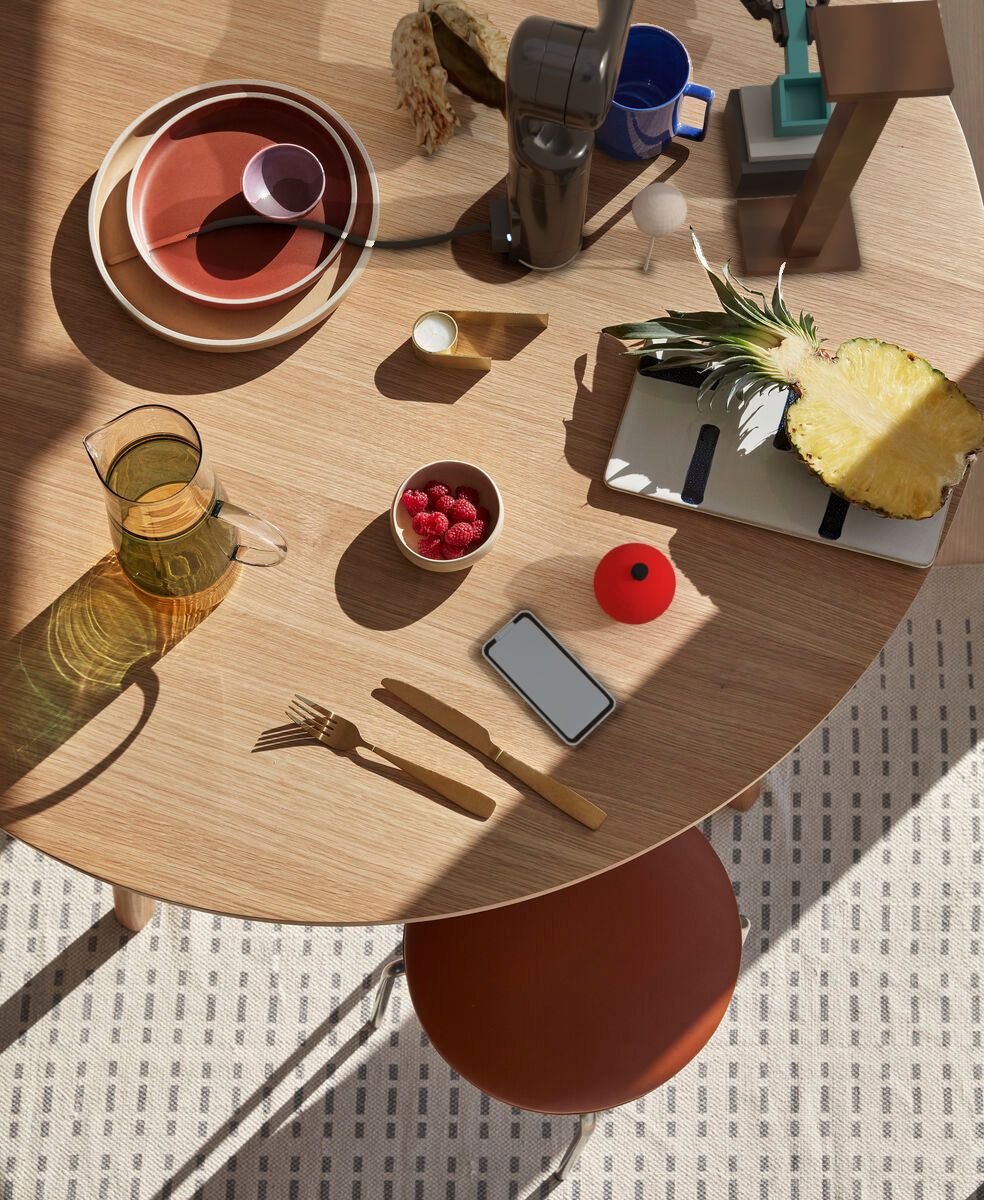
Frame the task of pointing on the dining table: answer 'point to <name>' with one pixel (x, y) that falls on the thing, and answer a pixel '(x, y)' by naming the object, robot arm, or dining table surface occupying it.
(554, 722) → the smartphone
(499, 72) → the seashell
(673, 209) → the lollipop
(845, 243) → the wooden pedestal stand
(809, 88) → the scoop
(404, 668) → the dining table surface
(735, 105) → the scale
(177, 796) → the dining table surface
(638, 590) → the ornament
